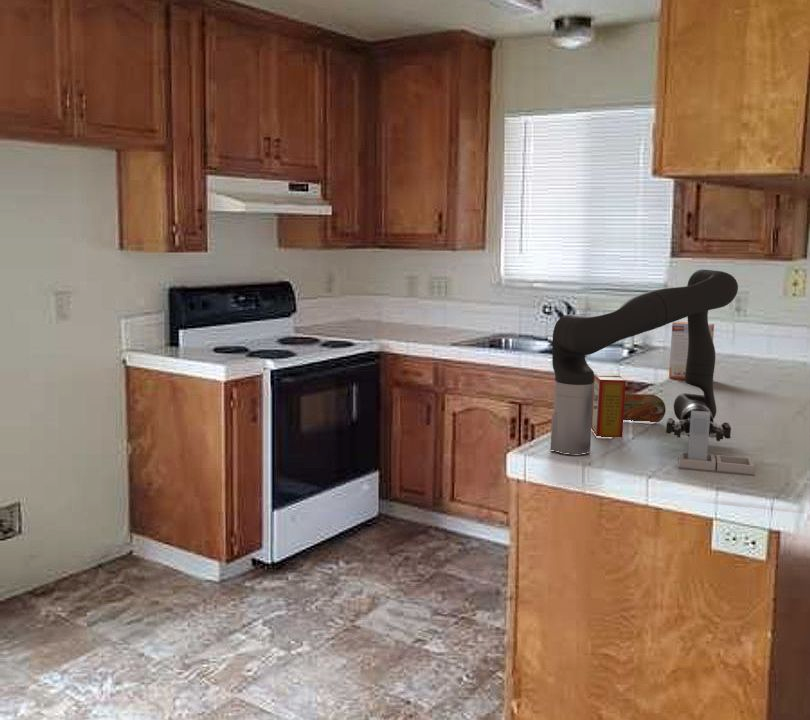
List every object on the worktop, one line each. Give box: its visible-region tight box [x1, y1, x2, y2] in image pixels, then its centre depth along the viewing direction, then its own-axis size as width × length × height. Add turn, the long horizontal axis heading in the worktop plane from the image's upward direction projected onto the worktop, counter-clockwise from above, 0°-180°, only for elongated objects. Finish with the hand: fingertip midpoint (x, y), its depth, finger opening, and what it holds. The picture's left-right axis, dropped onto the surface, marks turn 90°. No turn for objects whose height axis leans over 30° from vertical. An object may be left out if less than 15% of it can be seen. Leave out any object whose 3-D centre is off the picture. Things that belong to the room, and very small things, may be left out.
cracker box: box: [668, 321, 715, 380], centre depth 320 cm, size 14×6×21 cm, turn 59°
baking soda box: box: [591, 373, 627, 438], centre depth 229 cm, size 10×6×16 cm
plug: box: [687, 411, 710, 461], centre depth 197 cm, size 4×5×12 cm
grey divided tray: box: [677, 451, 756, 477], centre depth 197 cm, size 16×11×3 cm
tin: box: [623, 392, 667, 423], centre depth 246 cm, size 15×3×8 cm, turn 81°
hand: (698, 435), depth 197 cm, fingers open, 8 cm apart
